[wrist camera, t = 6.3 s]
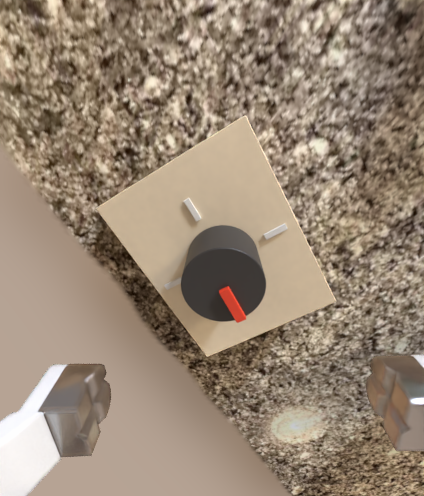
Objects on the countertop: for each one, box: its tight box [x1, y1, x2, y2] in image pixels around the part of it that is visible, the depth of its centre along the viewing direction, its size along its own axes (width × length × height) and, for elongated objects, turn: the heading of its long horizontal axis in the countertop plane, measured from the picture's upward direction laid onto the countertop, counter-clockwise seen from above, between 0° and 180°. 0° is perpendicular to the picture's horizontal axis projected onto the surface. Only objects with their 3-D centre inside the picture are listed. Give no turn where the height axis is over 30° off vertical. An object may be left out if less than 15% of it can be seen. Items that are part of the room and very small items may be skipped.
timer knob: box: [181, 225, 266, 323], centre depth 16 cm, size 4×4×4 cm
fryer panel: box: [96, 116, 336, 357], centre depth 19 cm, size 13×10×3 cm
